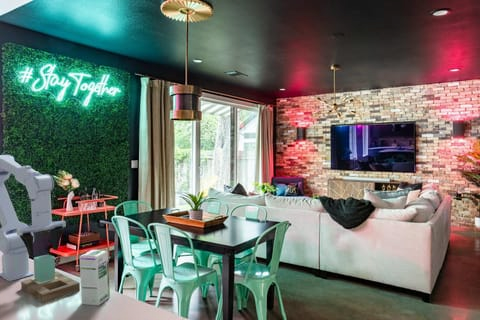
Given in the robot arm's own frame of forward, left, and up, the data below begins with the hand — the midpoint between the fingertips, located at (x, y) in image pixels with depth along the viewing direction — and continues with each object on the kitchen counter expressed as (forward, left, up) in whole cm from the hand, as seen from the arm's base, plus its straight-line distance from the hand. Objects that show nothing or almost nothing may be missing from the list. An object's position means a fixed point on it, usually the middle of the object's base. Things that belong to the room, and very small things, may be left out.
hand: (43, 252), depth 118 cm
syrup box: (+26, +4, -11) cm, 28 cm away
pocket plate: (+7, -1, -10) cm, 13 cm away
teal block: (+3, -1, -8) cm, 8 cm away
